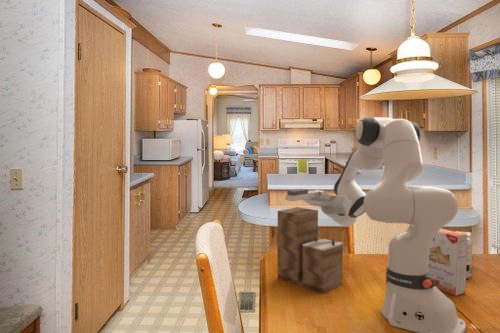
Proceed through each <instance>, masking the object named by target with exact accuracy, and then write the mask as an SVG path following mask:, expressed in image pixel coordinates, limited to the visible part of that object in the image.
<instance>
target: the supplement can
mask: <svg viewBox="0 0 500 333" xmlns="http://www.w3.org/2000/svg"><path fill="white" fill-rule="evenodd" d="M472 244H473V242H471V240H470V238H468V237H467V266H466V280H467V279H469V278H470V277H471V273H472V249H473V248H472V246H473V245H472Z"/></svg>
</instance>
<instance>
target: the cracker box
mask: <svg viewBox="0 0 500 333" xmlns="http://www.w3.org/2000/svg"><path fill="white" fill-rule="evenodd" d="M458 232H459V231H458ZM458 232H456V231H454V230H449V229H445V228H441V229H440V230H439V231H438V232H437V234H436V235H435V237H434V239H433V241H432V243H431V246H430V252H429V262H428V271H429V272H430V274H431V275H432V276H435V275H437V276H436V278H437V279H436V280H435V287H437V288H438V289H439V290H440V291H441V292H442V293H443V292H444V293H446V294H448V295H450V296H454V297H457V296H460V295H463V294H466V293H467V292H466V291H467V288H466V287H467V285H466V284H467V279H466V266H467V236H468V235H467V234H463V233H458Z"/></svg>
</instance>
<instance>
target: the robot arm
mask: <svg viewBox="0 0 500 333" xmlns="http://www.w3.org/2000/svg"><path fill="white" fill-rule="evenodd" d="M355 129H356V130H355V135H356V136H355V137H356V141H357V142H358V143H359V145H358V149H356V150H355V151H353V152H352V153H351V154H350V156H349V157H348V159H347V161H346V164H345V166H344V168H343V169H342V171H341V174H340V176H339V178H337V180H336V182H335V183H334V186H333V192H334V194H328V193H326V192H325V193H324V192H320V194H319V196H321V197H315V198H310V199H304V200H302V201H304V203H306V204H308V205H309V206H314V207H319V208H320V209H321V211H322V213H323V214H325V215H326V216H327V217H328V218H330V219H332V221H333V222H335V223H336V224H338V225H340V226H342V227H351V226H352V227H353V225H354V224H355V223H356V222H357V219H358V218H359V217H360V216H362V215H363V214H364V213H365V215H367V217H368V218H369V219H370V220H371V221H376V222H380V223H385V224H402V225H403V224H404V225H405V224H406V225H407V224H408V225H409V226H408V228H407V229H406V230H405V231H404V232H402V233H400V234H398V235H395V236H394V237H393V238H392V239H391V240H390V241H389V243H388V247H387V248H388V249H387V256H388V258H387V265H386V273H385V283H386V290H385V296H384V301H383V305H382V308H381V311H380V312H381V315H382V316H383V317H384V318H385V319H387V321H388V324H389V325H390V326H391V327H395V328H399V329H404V330H406V331H410V332H414V333H465V332H466V329H467V327H466V322H465V321H464V319H462V318H459V317H458V313H457V308H456V306H455V303H454V302H453V301H452V300H451V299H450V298H449V297H447V296H446V295H445V294H444V293H443V291H441V290H439V289H438V288H437V287H435V280H436V279H437V278H436V276H437V275H435V276H432V275H431V274H430V272H429V271H428V262H429V252H430V246H431V243H432V241H433V239H434V237H435V235H436V234H437V232H438V231H439V230H440V229H443V228H444V226H446V225H447V224H449V223H450V222H452V221H453V220H454V219H455V217H456V215H457V213H458V209H459V208H458V206H459V205H458V200H457V198H456V196H455V195H454V194H453V192H451V190H449V189H445V188H441V187H435V186H409V185H406V183H408V182H411V181H413V180H415V179H417V177H418V176H420V175H421V174H422V172H423V169H424V164H423V158H422V157H423V156H422V151H421V146H420V142H421V137H422V135H421V134H422V132H421V128H420V126H419V124H418V123H416V122H413V121H410V120H408V119H405V118H391V117H374V116H366V117H362V118H361V119H360V120H359V121H358V124H357V125H356V128H355ZM383 164H384V165H383ZM381 167H384V168H383V175H382V177H381V179H380V180H379V182H378V183H377V184H376V185H374V186H373V187H371V188H370V189H369V190H368V191H367V192H364V191H363V190H362V189H361V187H360V186H359V185H358V184H357V182H356V179H355V178H356V175H357V174H358V172H359V170H363V171H375V170H378V169H380V168H381ZM308 191H312V190H309V189H308Z"/></svg>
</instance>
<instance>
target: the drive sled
mask: <svg viewBox="0 0 500 333" xmlns="http://www.w3.org/2000/svg"><path fill="white" fill-rule="evenodd" d="M286 191H287V194H285V196H284V197H285V200H284V201H288V202H289V201H290V202H297V201H303V200H304V199H310V198H315V197H321V196H319V194H320V192H324V193H326V190H321V189H320V190H319V189H315V190H311V191H309V189H306V188H299V189H297V188H296V189H289V190H286Z"/></svg>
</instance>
